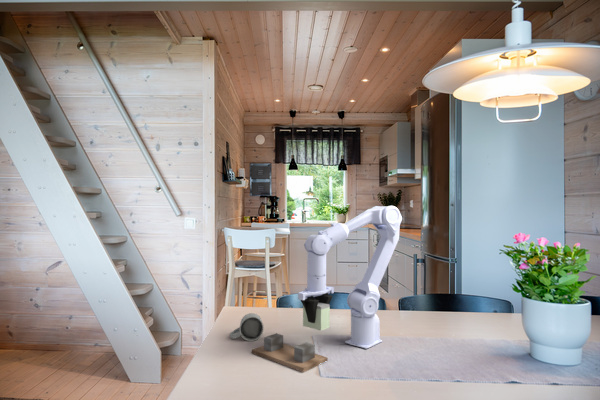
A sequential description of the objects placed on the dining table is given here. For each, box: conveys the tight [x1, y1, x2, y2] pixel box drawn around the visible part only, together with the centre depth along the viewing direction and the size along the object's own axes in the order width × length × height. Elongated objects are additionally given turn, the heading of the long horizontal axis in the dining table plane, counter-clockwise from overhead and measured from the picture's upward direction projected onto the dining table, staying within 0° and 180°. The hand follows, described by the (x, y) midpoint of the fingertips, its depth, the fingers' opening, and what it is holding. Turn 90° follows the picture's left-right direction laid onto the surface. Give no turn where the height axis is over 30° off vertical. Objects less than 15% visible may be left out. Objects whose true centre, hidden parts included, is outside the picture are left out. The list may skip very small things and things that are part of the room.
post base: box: [251, 332, 328, 373], centre depth 109 cm, size 10×20×4 cm, turn 48°
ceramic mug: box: [229, 312, 264, 342], centre depth 126 cm, size 11×8×8 cm
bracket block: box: [302, 302, 331, 331], centre depth 116 cm, size 4×7×7 cm, turn 48°
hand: (316, 320), depth 115 cm, fingers closed on bracket block, 4 cm apart
